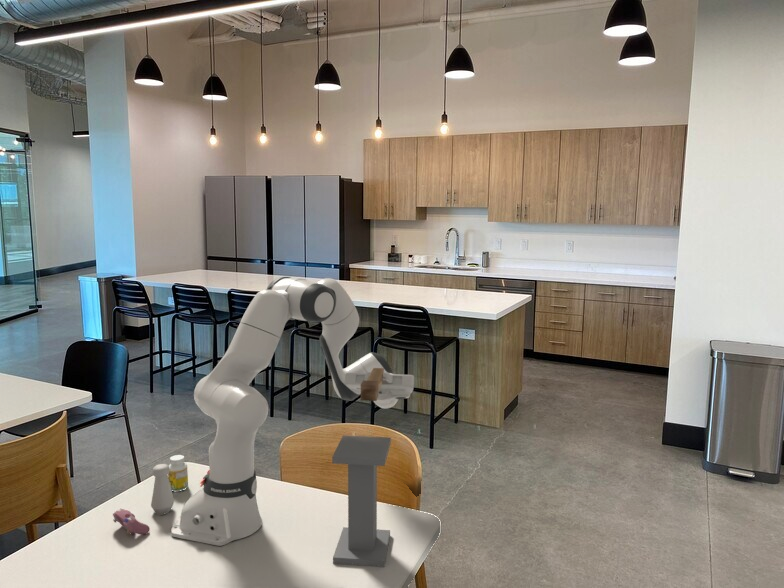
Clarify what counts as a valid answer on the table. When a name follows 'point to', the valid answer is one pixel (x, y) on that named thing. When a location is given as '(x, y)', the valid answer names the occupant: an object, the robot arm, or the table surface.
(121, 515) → the pink toy figure
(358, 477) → the charcoal stand
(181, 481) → the supplement bottle
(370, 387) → the oak shaft
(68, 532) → the table surface
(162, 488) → the salt shaker
